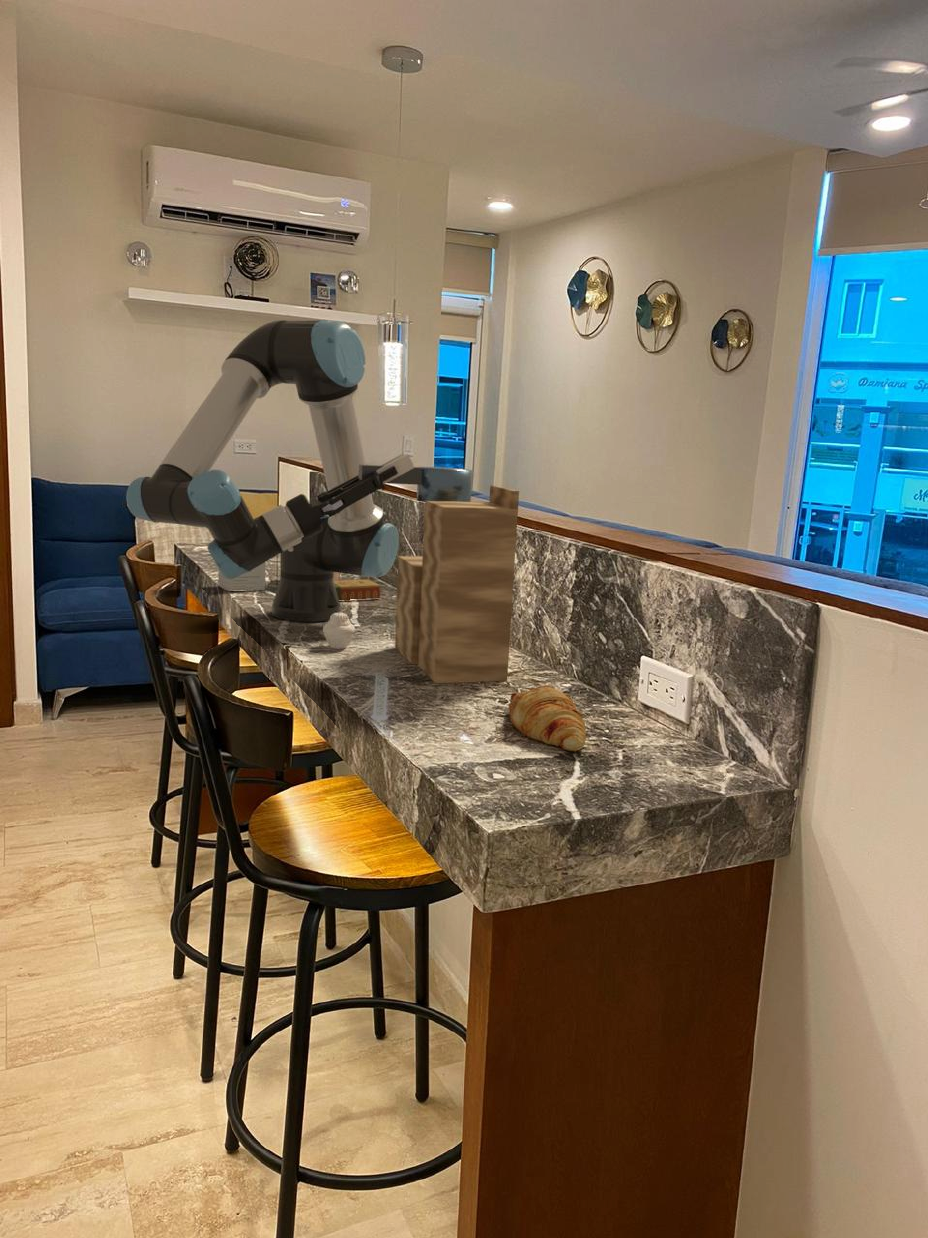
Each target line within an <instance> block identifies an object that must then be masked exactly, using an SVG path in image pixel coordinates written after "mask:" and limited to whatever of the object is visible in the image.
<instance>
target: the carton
mask: <svg viewBox="0 0 928 1238" xmlns="http://www.w3.org/2000/svg"><path fill="white" fill-rule="evenodd" d="M334 585H335V589H336V592H337V595H338V599H339V600H350V599H366V598H380V599H381V585H380V584H379V583H377V582H375V581H372V580H370V579H346V580H340V581H334Z"/></svg>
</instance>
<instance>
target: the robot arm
mask: <svg viewBox="0 0 928 1238" xmlns="http://www.w3.org/2000/svg"><path fill="white" fill-rule="evenodd" d="M365 354H366V353H365V349H364V345H363V343H362V340H361V338H360V336H359V335H358V333H357V332H356V331H355V329H354V328H353V327H350V325H349V324H348V323H346V322H342V321H332V320H329V319H327V320H326V319H322V320H283V319H281V320H279V319H278V320H273V321H270V322H267V323H264V324H262V325H261V326H259V327H258V328H256V329H254V330H253V331H251V333H249V334H248V335H247V336H245V337H244V338H243V339H242V340H241V341H240V342H239V343H238V344H237V345H236V346H235V347H233V349H232V351H230V353H229V354H228V356H227V357H226V358H225V360H224V361H223V362H222V365H221V375H220V377H219V379H218V380H217V381H216V383H215V384H214V386H213V387H212V388H211V390H210V391H209V393H208V395H207V396H206V397H205V399H204V400H203V402H202V403H201V404H200V406H199V407H198V409H197V411H196V412H195V413H194V415H193V416H192V418H191V419H190V420H189V422H188V424H186V426H185V428H184V429H183V431H182V432H181V433H180V435H179V436H178V438H177V439H176V441H175V443H174V444H173V445H172V447H171V448H170V449H169V451H168V452H167V454H166V455H165V457H164V458H163V460H162V461H161V462H160V464H159V466H158V467H157V469H156V470H155V471H154V473H153V475H151V477H150V476H143V477H142V476H141V477H138V478H136V479H134V480H132V481H131V483H130V484H129V485H128V488H127V490H126V496H125V497H126V505H127V508H128V510H129V512H130V513H131V514H132V516H134V517H135V518H137V519H139V520H144V521H147V522H152V523H155V524H157V523H158V524H159V523H164V524H174V525H182V526H190V527H197V528H205V529H207V530H208V531H209V533H210V534H211V536H212V538H213V540H212V541H210V542H208V545H207V551H208V553H209V554H210V556H211V558H212V560H213V561H214V563H215V565H216V567H217V568H218V571H219V570H220V572H221V573H222V575H223V576H224V577H225V578H227V579H234V578H236V577H238V576H240V575H242V574H244V573H247V572H250V571H251V570H253V569H254V568H256V567H258V566H259V565H261V564H263V563H264V562H267V561H269V560H271V559H272V558H274V557H276V556H278V555H280V565H279V566H280V574H279V576H280V578H279V579H280V580H279V584H278V586H277V589H276V592H275V595H274V598H273V600H272V602H271V603H272V604H271V615H272V616H273V617H275V618H276V619H281V620H284V619H285V621H291V620H292V622H323V621H329V620H330V616H331V615H332V614H334V613H339V612H340V613H342V611H341V607H342V606H341V602H339V599H338V595H337V592H336V589H335V585H334V580H333V577H334V572H338V573H340V574H347V575H354V576H362V577H363V578H368V577H370V578H380V577H383V576H385V575H386V574H387V573H388V572H389V571H390V570H391V568H393V567H392V566H393V565H394V562H395V561H396V557H397V555H398V551H399V544H400V541H399V537H400V536H399V531H398V529H397V527H396V526H395V525H394V524H392V523H390V522H385V518H384V513H383V511H382V509H381V507H380V506H378V505H376V504H374V500H373V495H372V493H374V492H376V491H378V490H382V491H384V490H385V489H386V486H385V484H388V483H387V482H389V481H391V480H393V479H395V478H397V477H398V476H400V475H402V474H404V473H406V472H408V471H409V470H411V469H413V468H415V467H416V466H415V465H414V463H413V462H412V459H411V457H410V455H409V453H406V454H404V452H401V453H400V454H398V455H396V456H393V457H392V458H390V459H389V460H387V461H385V462H383V463H381V464H380V465H381V466H384V467H382V468H380V469H378V470H376V473H373V474H372V475H370V476H368V477H366V478H364V479H362V480H360V481H359V465H367V464H366V459H365V455H364V450H363V445H362V439H361V434H360V430H359V425H358V419H357V416H356V415H357V414H356V409H355V404H354V400H353V397H354V395H355V394H356V393H357V391H358V389H359V386H358V384H360V382H361V381H362V380H363V377H364V374H365V369H366V368H365V365H366V355H365ZM282 384H288V385H289V384H290V385H295V387H296V392H297V396H298V399H299V400H300V401H301V402H302V403H304V404H306V405H308V408H309V413H310V417H311V421H312V426H313V429H314V435H315V438H316V443H317V447H318V452H319V453H318V454H319V456H320V461H321V466H322V469H323V470H322V471H323V473H324V474H323V475H324V477H325V478H324V479H325V484H326V488H327V491H324V492H323V491H322V492H321V493H319V494H317V495H316V498H317V499H315V500H313V501H312V502H310V501H309V499H308V498H307V496H306V495H305V494H303V493H301V494H298V495H297V496H294V497H292V498H291V499H289V500H287V501H286V503H285V505H282V504H279V505H277V506H274V507H273V508H271V509H269V510H268V511H266V512H264V513H262V514H261V515H259V516H257V517H255V518H254V517H253V516H252V513H251V512H250V510H249V508H248V505H247V504H246V502H245V500H244V498H243V496H242V495H241V491H240V489H239V488H238V486H236V484H235V483H234V482H233V480H232V479H231V477H230V475H229V474H228V473H226V472H225V471H223V470H220V469H212V467H213V466H214V464H216V461H217V460H218V458H219V457H220V455H221V454H222V452H223V451H224V449H225V448H226V446H227V444H228V443H229V442H230V440H231V439H232V437H233V435H234V434H235V433H236V431H237V429H238V428H239V427H240V425H241V423H242V422H243V421H244V419H245V417H246V416H247V414H248V413H249V411H250V409H251V408H252V407H253V405H254V404H255V402H256V401H257V399H262V398H264V397H266V395H267V394H268V392H269V391H270V389H271V388H273V387H275V386H277V385H282ZM310 503H311V504H310Z"/></svg>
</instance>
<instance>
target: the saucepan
mask: <svg viewBox="0 0 928 1238" xmlns="http://www.w3.org/2000/svg"><path fill="white" fill-rule="evenodd" d="M382 467H384V466H381V464H378V465H375V464H366V465H359V481H360V480H362V479H364V478H366V477H368V476H370V475H372V474H373V473H376V470H378V469H380V468H382ZM414 467H415V468H413V469H411V470H409V471H408V472H406V473H404V474H402V475H400V476H398V477H397V478H395V479H393V480H391V481H389V482H387V483H386V484H392V485H393V484H395V485H417V489H416V501H418V502H423V503H425V501H461V502H472V483H473V470H472V469H470V468H469V469H468V468H457V467H443V466H441V467H440V466H435V467H434V466H414Z"/></svg>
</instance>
